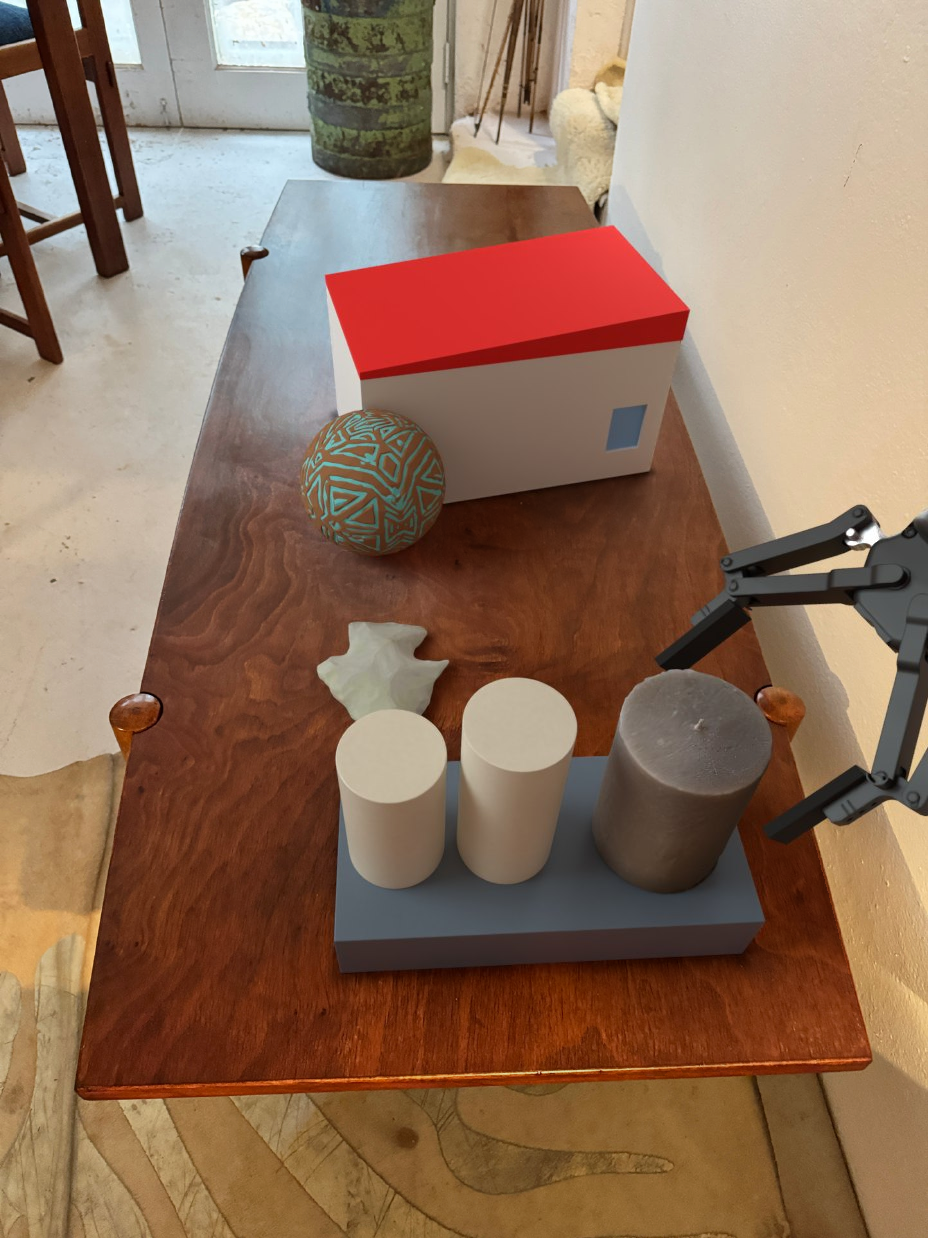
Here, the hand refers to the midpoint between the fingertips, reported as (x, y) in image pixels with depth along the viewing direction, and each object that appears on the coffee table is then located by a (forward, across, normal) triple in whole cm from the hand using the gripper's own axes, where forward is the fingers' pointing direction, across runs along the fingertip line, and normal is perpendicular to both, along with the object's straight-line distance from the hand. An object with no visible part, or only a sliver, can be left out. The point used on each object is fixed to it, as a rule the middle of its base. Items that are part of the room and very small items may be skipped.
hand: (715, 746), depth 55 cm
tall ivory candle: (+17, +4, +1) cm, 17 cm away
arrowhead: (+24, +24, -1) cm, 34 cm away
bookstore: (+8, +58, -17) cm, 61 cm away
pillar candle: (+10, 0, -7) cm, 12 cm away
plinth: (+19, +3, -5) cm, 20 cm away
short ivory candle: (+22, +6, +6) cm, 24 cm away
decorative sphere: (+20, +45, -4) cm, 49 cm away
